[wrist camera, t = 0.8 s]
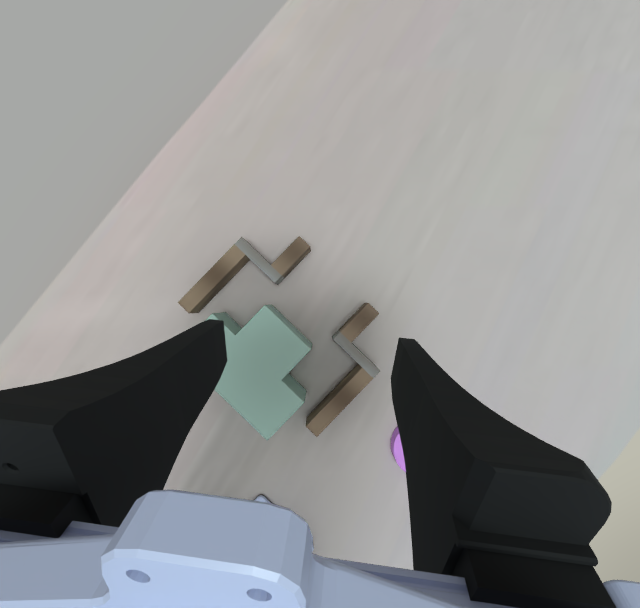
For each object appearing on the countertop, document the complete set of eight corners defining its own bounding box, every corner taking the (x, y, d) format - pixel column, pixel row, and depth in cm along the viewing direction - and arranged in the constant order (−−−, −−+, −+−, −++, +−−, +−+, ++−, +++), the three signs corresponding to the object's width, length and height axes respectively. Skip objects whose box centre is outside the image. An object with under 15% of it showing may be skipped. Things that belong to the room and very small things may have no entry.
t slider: (273, 424, 33) (267, 440, 29) (192, 345, 33) (175, 351, 29) (332, 363, 33) (333, 371, 29) (251, 285, 33) (241, 282, 29)
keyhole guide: (316, 427, 33) (316, 436, 31) (188, 302, 33) (177, 302, 31) (401, 339, 33) (408, 341, 31) (273, 215, 33) (269, 207, 31)
